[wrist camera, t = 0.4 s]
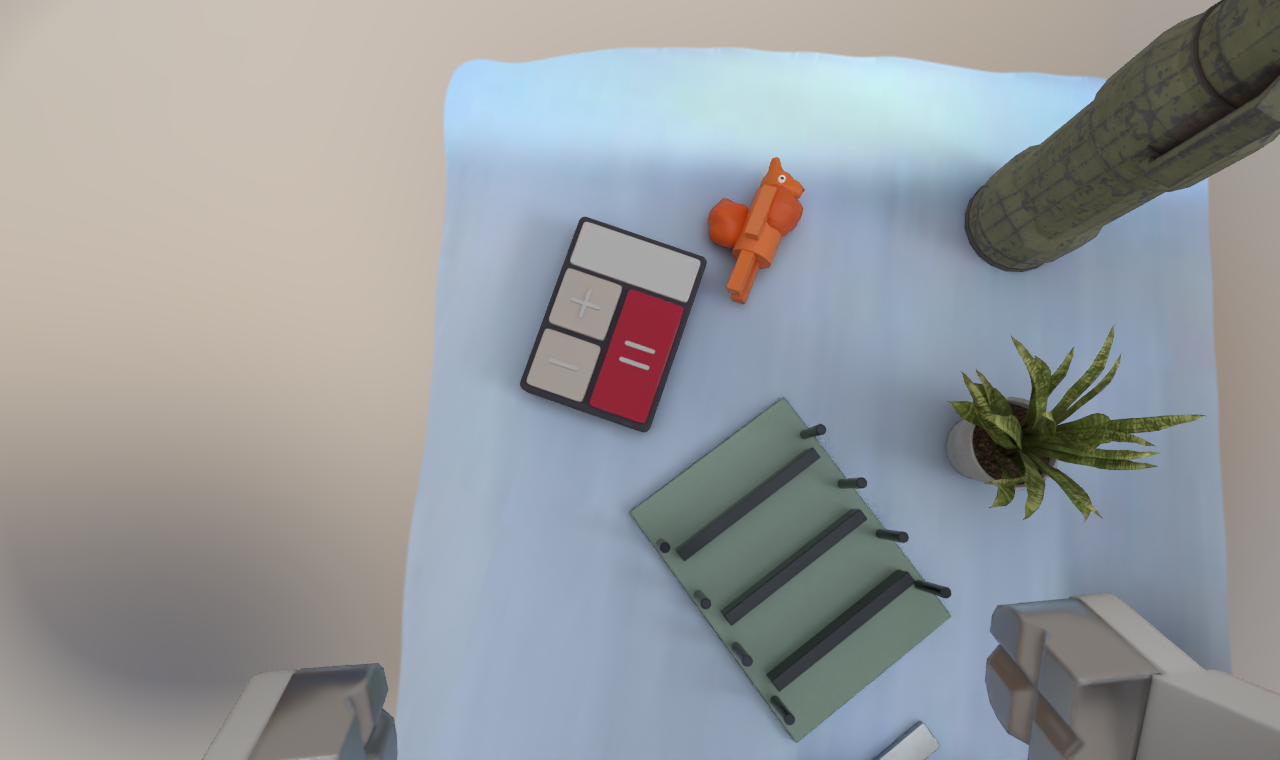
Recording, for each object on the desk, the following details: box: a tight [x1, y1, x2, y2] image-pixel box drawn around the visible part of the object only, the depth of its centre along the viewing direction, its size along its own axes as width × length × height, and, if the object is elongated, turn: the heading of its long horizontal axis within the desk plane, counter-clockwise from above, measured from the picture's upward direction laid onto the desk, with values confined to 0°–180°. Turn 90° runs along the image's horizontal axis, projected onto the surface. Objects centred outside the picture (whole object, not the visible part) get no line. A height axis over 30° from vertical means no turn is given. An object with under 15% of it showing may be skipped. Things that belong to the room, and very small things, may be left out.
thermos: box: [965, 0, 1280, 272], centre depth 49 cm, size 9×12×35 cm
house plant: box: [946, 324, 1205, 523], centre depth 55 cm, size 14×14×16 cm
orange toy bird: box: [708, 157, 804, 304], centre depth 63 cm, size 5×8×12 cm
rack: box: [630, 397, 951, 743], centre depth 58 cm, size 22×16×6 cm
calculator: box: [520, 217, 707, 432], centre depth 62 cm, size 11×4×15 cm
